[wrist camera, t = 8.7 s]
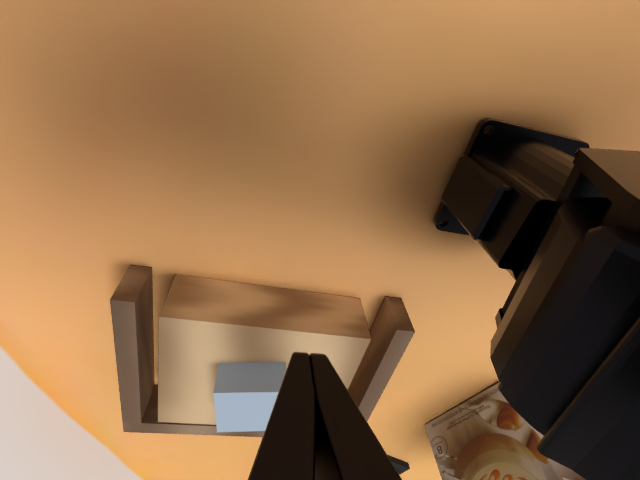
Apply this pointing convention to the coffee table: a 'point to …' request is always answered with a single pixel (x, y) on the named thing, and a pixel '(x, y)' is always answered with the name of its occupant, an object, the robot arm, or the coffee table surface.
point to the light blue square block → (246, 395)
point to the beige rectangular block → (246, 337)
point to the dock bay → (142, 416)
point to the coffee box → (490, 443)
